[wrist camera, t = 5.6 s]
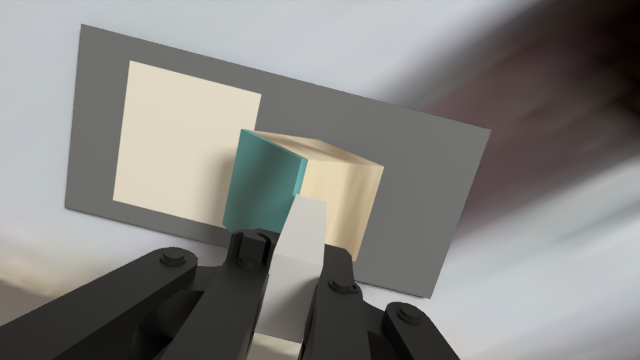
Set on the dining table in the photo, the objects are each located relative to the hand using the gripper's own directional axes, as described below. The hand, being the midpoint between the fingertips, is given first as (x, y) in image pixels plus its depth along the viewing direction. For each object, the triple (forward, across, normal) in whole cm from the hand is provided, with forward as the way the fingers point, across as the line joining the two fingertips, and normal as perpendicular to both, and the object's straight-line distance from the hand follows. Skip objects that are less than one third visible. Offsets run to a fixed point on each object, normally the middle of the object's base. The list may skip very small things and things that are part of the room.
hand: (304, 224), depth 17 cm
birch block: (+6, -2, 0) cm, 7 cm away
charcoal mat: (+9, +3, 0) cm, 10 cm away
